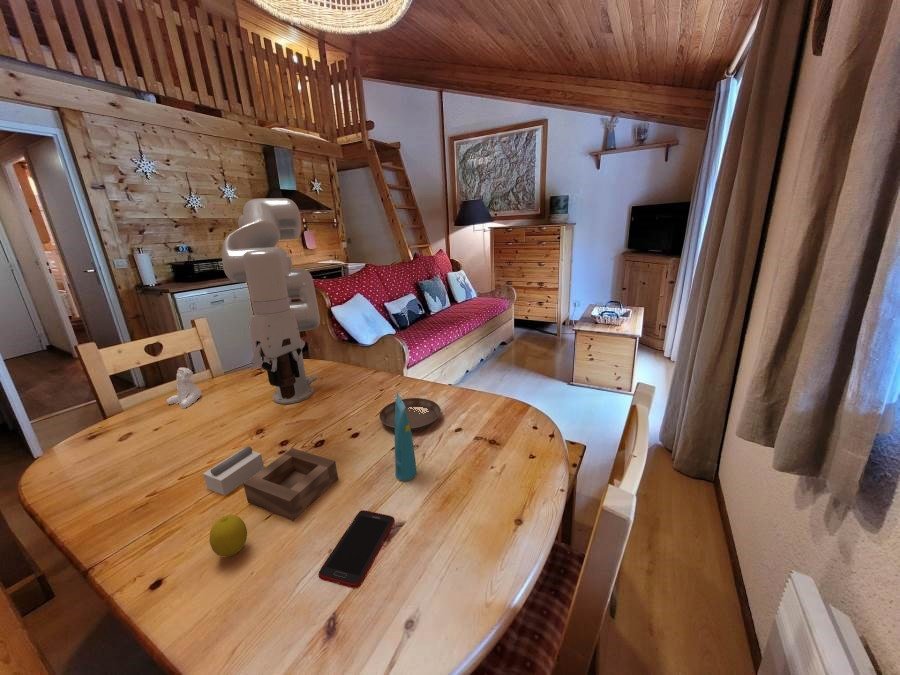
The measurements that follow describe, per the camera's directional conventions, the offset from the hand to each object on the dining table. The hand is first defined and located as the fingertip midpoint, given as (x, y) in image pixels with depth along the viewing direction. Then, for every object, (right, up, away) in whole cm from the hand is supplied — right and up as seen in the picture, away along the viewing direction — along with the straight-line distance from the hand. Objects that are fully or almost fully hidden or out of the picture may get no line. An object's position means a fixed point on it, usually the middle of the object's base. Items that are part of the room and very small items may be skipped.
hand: (285, 380), depth 87 cm
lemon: (+1, -28, -22) cm, 36 cm away
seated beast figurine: (-48, -11, +35) cm, 61 cm away
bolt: (0, -4, +2) cm, 5 cm away
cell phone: (+23, -28, -21) cm, 42 cm away
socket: (+6, -23, -7) cm, 25 cm away
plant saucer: (+28, -14, +19) cm, 37 cm away
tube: (+29, -21, -3) cm, 37 cm away
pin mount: (-10, -22, -3) cm, 25 cm away
